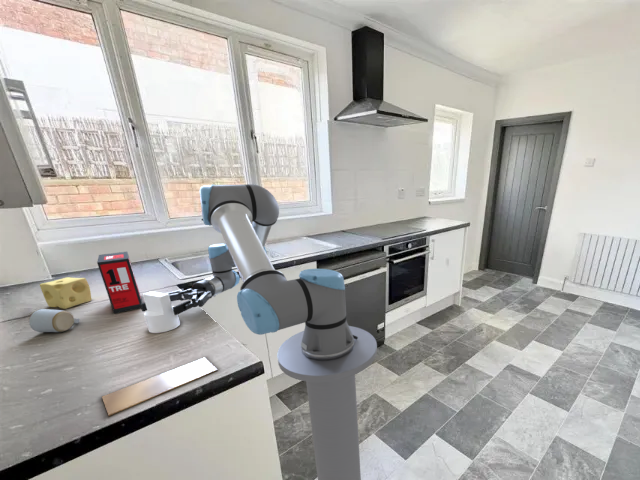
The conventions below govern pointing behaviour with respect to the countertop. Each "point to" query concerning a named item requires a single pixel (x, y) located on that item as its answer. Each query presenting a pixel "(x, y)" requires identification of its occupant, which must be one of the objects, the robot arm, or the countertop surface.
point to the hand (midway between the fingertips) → (157, 309)
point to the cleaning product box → (119, 281)
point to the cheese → (66, 292)
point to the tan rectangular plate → (156, 385)
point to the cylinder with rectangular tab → (159, 312)
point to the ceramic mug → (51, 320)
